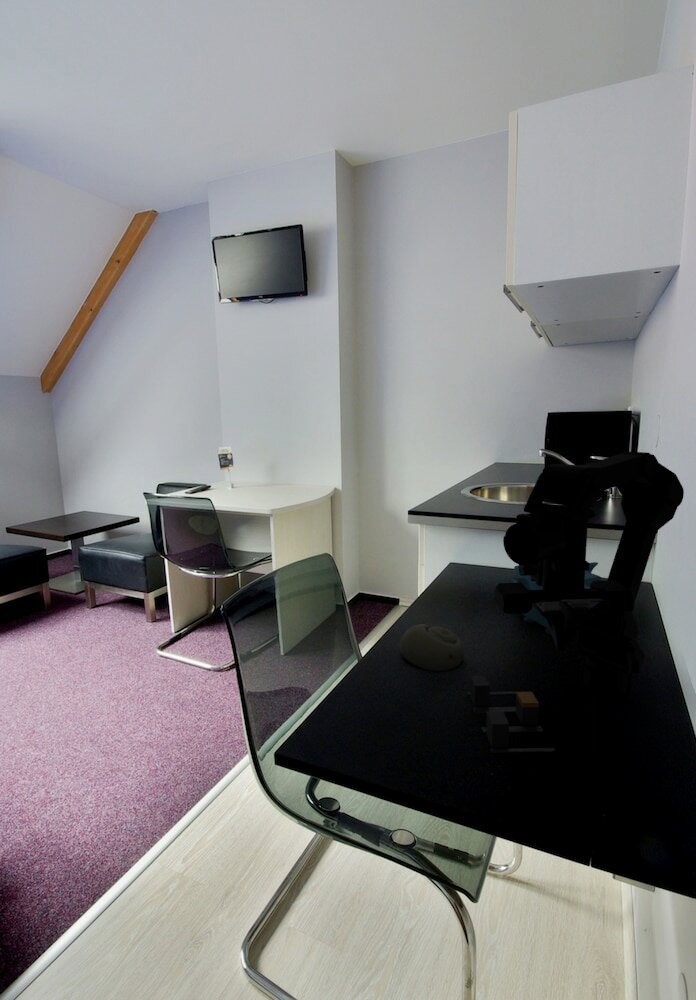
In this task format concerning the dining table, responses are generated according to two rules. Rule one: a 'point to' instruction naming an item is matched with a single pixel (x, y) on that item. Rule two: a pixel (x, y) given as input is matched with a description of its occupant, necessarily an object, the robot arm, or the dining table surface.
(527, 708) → the handle
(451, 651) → the seashell
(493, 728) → the handle
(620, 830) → the dining table surface
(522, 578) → the teakettle
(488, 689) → the handle
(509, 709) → the panel
